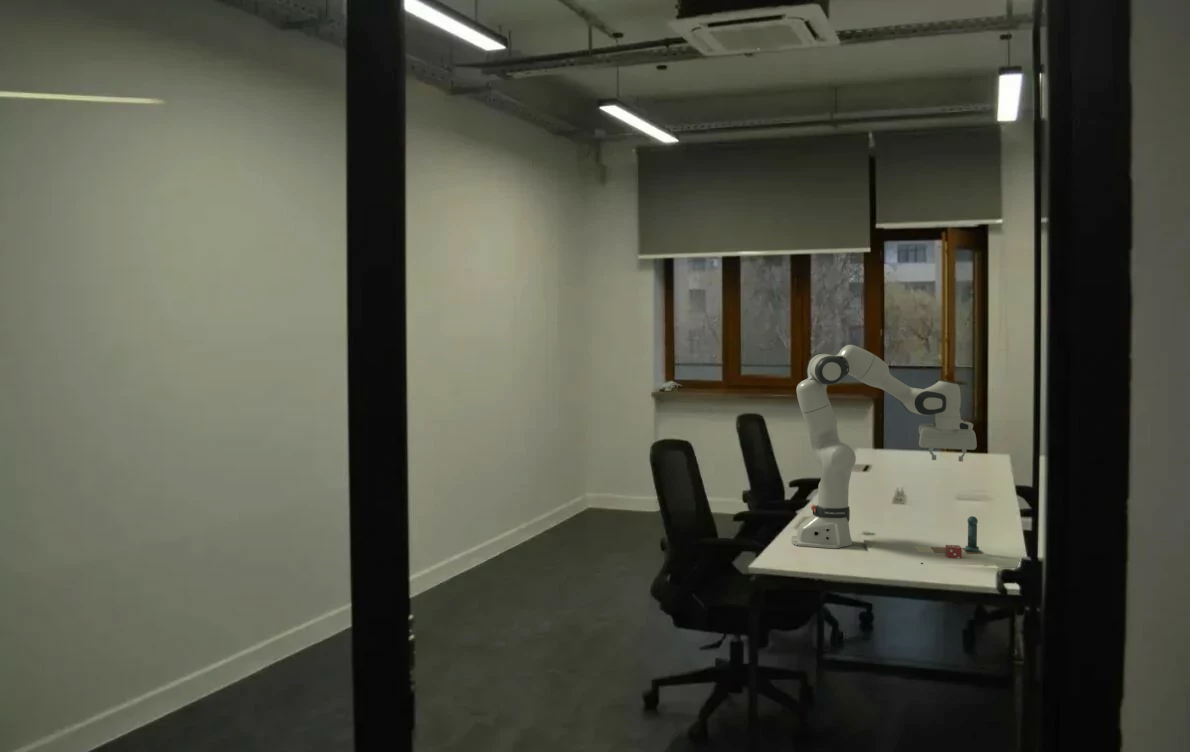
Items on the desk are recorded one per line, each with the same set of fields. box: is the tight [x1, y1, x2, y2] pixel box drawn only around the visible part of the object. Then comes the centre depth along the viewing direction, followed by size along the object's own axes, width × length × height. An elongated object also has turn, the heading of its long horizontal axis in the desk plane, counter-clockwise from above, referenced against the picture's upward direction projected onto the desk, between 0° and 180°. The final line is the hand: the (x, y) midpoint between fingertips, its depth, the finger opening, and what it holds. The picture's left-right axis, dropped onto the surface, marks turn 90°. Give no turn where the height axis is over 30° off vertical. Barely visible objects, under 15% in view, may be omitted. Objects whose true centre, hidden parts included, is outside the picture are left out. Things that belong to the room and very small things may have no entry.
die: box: [945, 544, 963, 559], centre depth 335 cm, size 4×5×5 cm
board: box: [914, 545, 984, 555], centre depth 345 cm, size 23×10×1 cm, turn 80°
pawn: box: [965, 516, 980, 552], centre depth 343 cm, size 4×4×12 cm
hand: (947, 460), depth 360 cm, fingers open, 8 cm apart
